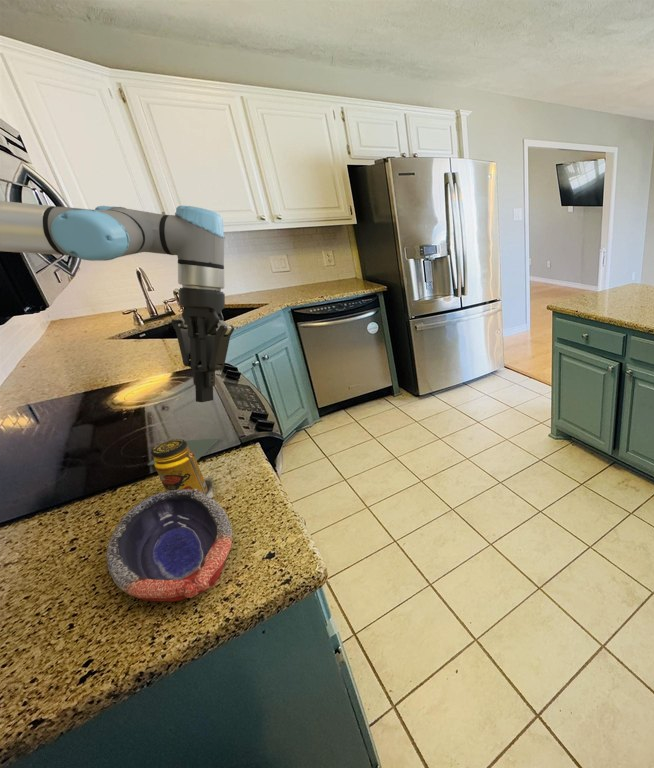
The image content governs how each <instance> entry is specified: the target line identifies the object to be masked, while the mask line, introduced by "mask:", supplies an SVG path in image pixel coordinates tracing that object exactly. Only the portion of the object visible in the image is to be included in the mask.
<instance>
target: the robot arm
mask: <svg viewBox="0 0 654 768" xmlns="http://www.w3.org/2000/svg"><path fill="white" fill-rule="evenodd" d="M225 239H226V237H225V233H224V221H223V217H222V216H221V215H220V214H219V213H217V212H215V211H213V210H210V209H207V208H202V207H198V206H191V205H178V206H177V207H176V208H175V213H174V214H162V213H156V212H149V211H144V210H140V209H139V210H137V209H132V208H126V207H124V206H109V205H98V206H96V207H95V208H94V209H91V208H79V207H70V206H69V207H68V206H54V205H46V204H45V205H44V204H37V203H36V204H35V203H26V202H15V201H5V200H4V201H3V200H0V252H8V253H10V252H11V253H22V254H23V253H24V254H25V253H27V254H42V255H55V256H57V255H58V256H69V257H74V258H77V259H80V260H83V261H91V262H92V261H94V262H95V261H99V262H100V261H101V262H102V261H103V262H104V261H111V260H112V261H113V260H116V259H118V258H122V257H126V256H131V255H135V254H142V253H150V254H151V253H152V254H162V255H169V256H177V284H178V285H181V286H182V287H179V288H178V304H179V306H181V307H182V308H183V310H182V312H181V317H179V318H178V319H172V320H171V322H170V323H171V326H172V327H173V329H174V331H175V334H176V338H177V342H178V347H179V351H180V355H181V359H182V363H183V366H184V367H189V368H190V369H191V370H192V379H193V381H192V383H193V385H194V387H195V402H196V403H205V402H206V403H207V402H210V401H214V387H215V385H216V371H217V370H222V369H224V368H225V364H226V358H227V355H228V350H229V346H230V345H229V344H230V340H231V336H232V335H233V333H234V331H235V326H234V325H232V324H231V325H229V324H228V323H226V321H225V320H224V319H225V318H224V316H223V313H222V311H223V310H224V309H225V307H226V298H225V293H224V292H223V291H222V290H223V289H225Z"/></svg>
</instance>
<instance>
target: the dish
mask: <svg viewBox="0 0 654 768" xmlns="http://www.w3.org/2000/svg"><path fill="white" fill-rule="evenodd" d="M233 534H234V533H233V528H232V524H231V522H230V518H229V516H228V515H227V513H226V511H225V510H224V508H223V507H222V505H220V503H218V502H217V501H216V500H214V499H213V497H211V498H210V497H208V496H207V495H205V494H204V493H202V492H200V491H198V490H197V489H193V490H186V489H182V490H170V491H166V490H165V491H161V492H158V493H155V494H154V495H151V496H149V497H147V498H145V499H143V500H142V501H140V502H138V503H137V504H136V505H134V506H133V507H132V508H131V509H129V511H128V512H126V513H125V514H124V515H123V517H122V518H121V519H120V521H119V522H118V523H117V525H116V526H115V527H114V530H113V531H112V533H111V536H110V539H109V541H108V544H107V548H106V566H107V570H108V573H109V575H110V577H111V579H112V581H113V582H114V584H115V585H116V586H117V587H118V589H120V591H122V592H124V593H125V594H127V595H129V596H131V597H133V598H136V599H139V600H143V601H146V602H179V601H182V600H184V599H192V598H194V597H196V596H197V595H199V594H203V593H204V592H207V590H208V591H209V590H210V589H211V588H212V587H214V586H215V584H216V583H217V582H218V580H219V577H220V575H221V573H222V571H223V569H224V567H225V564H226V563H227V561H228V558H229V556H230V554H231V549H232V545H233V541H234V539H233V538H234V537H233V536H234V535H233Z"/></svg>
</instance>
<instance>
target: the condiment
mask: <svg viewBox="0 0 654 768" xmlns="http://www.w3.org/2000/svg"><path fill="white" fill-rule="evenodd" d="M186 441H187V440H184V439H172V440H171V439H170V440H167V441H163V442H162V443H159V444H158V445H155V447H154V448H152V449H151V456H153V460H155V461H156V462H155V466H154V469H155V471H156V472H157V474H158V476H159V479H160V482H161V484H162V486H163V488H164V490H165V491H170V490H182V489H186V490H193V489H197V490H198V491H200V492H202V493H204V494H205V495H207V496H208V497H210V498H214V487H213V478H212V477H213V476H212V475H210V476H207V477H206V478H204V476H203V473H202V471H201V467H200V466H199V463H198V460H197V461H196V458H195V456H194V453H193V452H192V451H190V450H189V447H188V446H187V442H186Z"/></svg>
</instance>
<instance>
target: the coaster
mask: <svg viewBox="0 0 654 768" xmlns="http://www.w3.org/2000/svg"><path fill="white" fill-rule="evenodd" d="M219 440H220V439H219V437H217V438H205V439H190V440H189V439H188V440H185V441H186V442H187V446H188V447H189V450H190V451H192V452H193V453H194V456H195V458H196V461H197V462H198V461H199V460H200V458H202V457H203V455H205V454H206V453H207V452H208V451H209V450H210V449H211V448H212V447H213V446H214V445H216V443H217V442H219ZM155 462H156V461H155V460H154V459H152V460H151V461H150V462H149V463H147V467H153V466H154V467H155Z"/></svg>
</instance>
